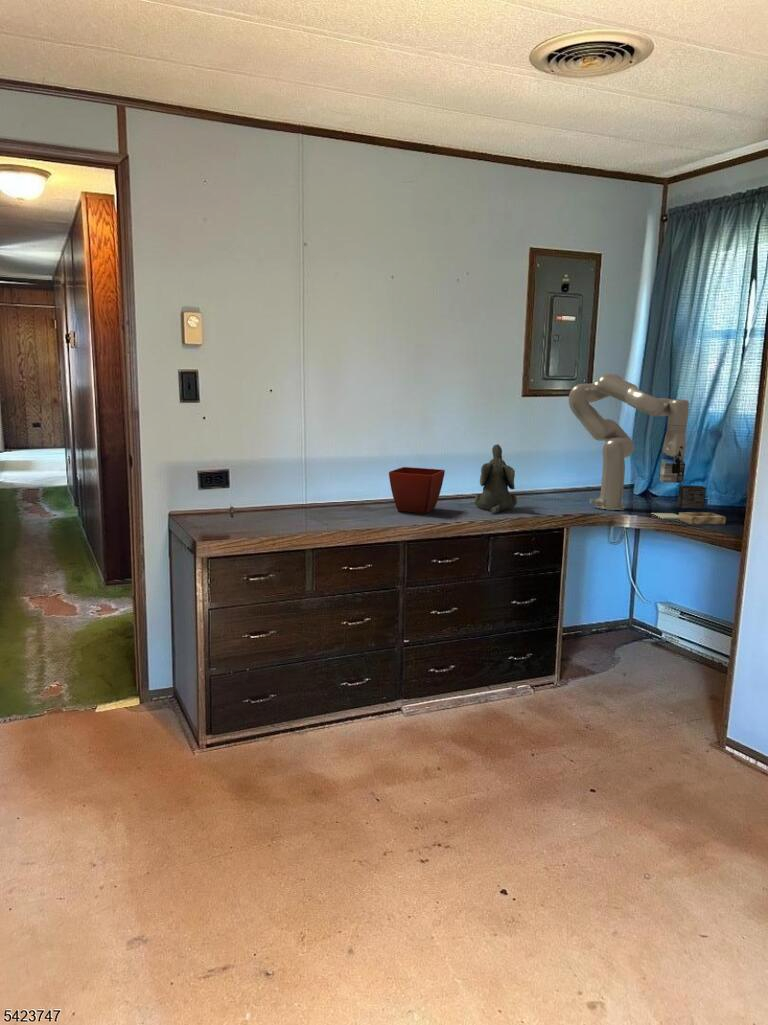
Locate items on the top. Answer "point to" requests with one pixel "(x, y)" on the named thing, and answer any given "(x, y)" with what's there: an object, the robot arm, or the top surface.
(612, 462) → the robot arm
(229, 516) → the top surface
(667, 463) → the label tape box
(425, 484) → the plant pot
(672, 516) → the pad
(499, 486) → the grey seated figure statue
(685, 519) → the pocket block
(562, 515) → the top surface
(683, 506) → the small box
